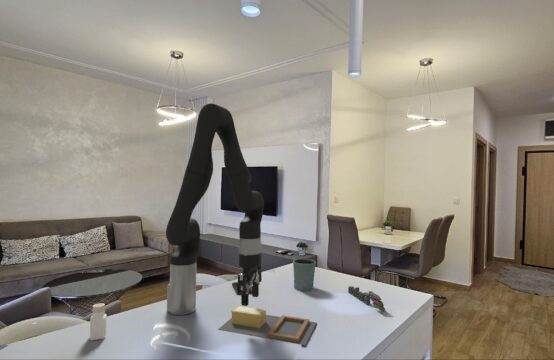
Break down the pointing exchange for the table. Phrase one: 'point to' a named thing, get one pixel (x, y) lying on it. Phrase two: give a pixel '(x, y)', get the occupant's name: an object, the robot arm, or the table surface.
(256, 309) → the card box
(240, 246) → the robot arm
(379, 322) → the table surface
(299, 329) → the mat
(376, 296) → the block letters
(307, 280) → the green cup
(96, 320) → the pepper shaker
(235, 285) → the phone
